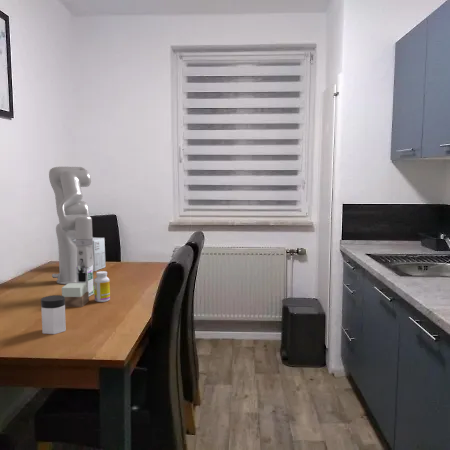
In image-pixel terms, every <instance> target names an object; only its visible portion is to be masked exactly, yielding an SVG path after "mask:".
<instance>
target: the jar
mask: <svg viewBox="0 0 450 450" xmlns="http://www.w3.org/2000/svg"><path fill="white" fill-rule="evenodd" d="M40 306H41V325H42V326H41V327H42V328H41V329H42V330H41V331H42V334H45V335H47V334H48V335H57V334H60V333H64V332H66V330H67V329H66V327H67V326H66V307H65V297H64V296H62V295H58V294H57V295H56V294H55V295H54V294H53V295H48V296H44V297H42V298H41V299H40Z"/></svg>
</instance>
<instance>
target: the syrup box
mask: <svg viewBox="0 0 450 450" xmlns="http://www.w3.org/2000/svg"><path fill="white" fill-rule="evenodd" d="M85 273H86V281H85V282H79V281H78V266H76V276H77V283H86V286H87V292H89V297H90V296H92V295H95V290H94V279H95V278H94V271H93V265H92V266H91V267H89V268H87V267H86V268H85Z"/></svg>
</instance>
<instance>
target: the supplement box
mask: <svg viewBox="0 0 450 450" xmlns="http://www.w3.org/2000/svg"><path fill="white" fill-rule="evenodd" d="M72 241H73V242H74V243H75V244H76V239H75V240H72ZM105 241H106V239H105V237H93V246H92V249H93V258H94V264H93V272H98V271H100V270H102V269H104V268H106V246H105V244H106V243H105Z"/></svg>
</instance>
